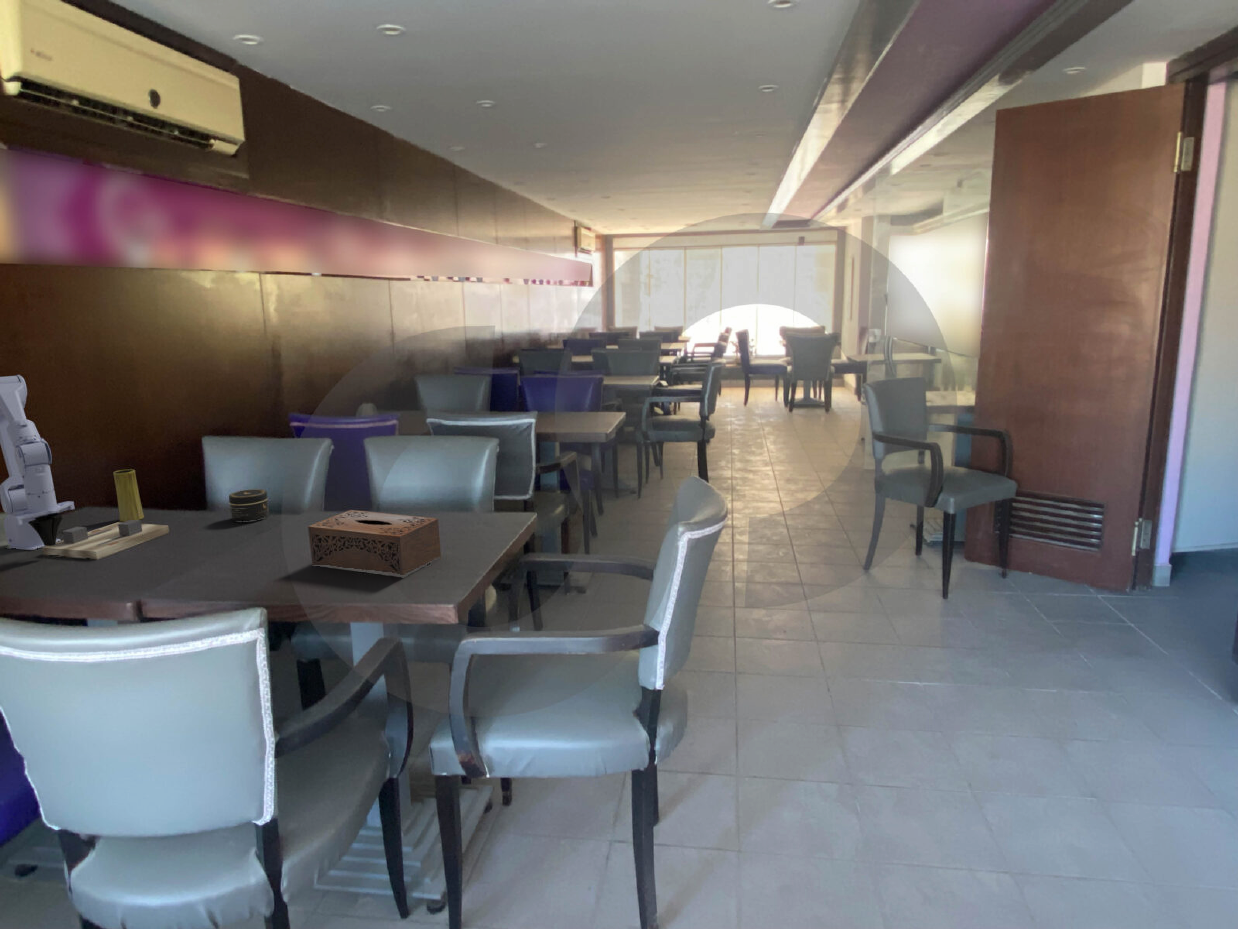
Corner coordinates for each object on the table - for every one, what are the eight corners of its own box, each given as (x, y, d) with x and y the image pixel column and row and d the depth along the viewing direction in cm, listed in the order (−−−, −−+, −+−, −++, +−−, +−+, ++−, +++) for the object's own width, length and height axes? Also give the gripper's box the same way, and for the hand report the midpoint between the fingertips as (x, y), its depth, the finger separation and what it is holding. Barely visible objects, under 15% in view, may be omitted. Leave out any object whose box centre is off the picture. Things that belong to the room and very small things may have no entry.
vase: (132, 522, 223) (124, 473, 220) (114, 521, 224) (106, 473, 221) (149, 516, 229) (141, 469, 226) (131, 515, 230) (123, 468, 227)
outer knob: (119, 535, 204) (117, 524, 203) (132, 530, 208) (130, 519, 207) (129, 535, 203) (127, 524, 202) (142, 531, 207) (140, 520, 206)
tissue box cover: (441, 558, 187) (438, 518, 184) (403, 579, 174) (399, 536, 171) (354, 548, 196) (350, 509, 194) (312, 567, 183) (307, 526, 181)
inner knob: (64, 542, 199) (62, 531, 198) (78, 537, 202) (76, 526, 202) (74, 543, 198) (72, 532, 197) (88, 538, 202) (86, 527, 201)
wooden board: (43, 555, 196) (41, 547, 195) (119, 529, 217) (117, 522, 216) (97, 559, 192) (95, 551, 191) (169, 532, 212) (168, 525, 212)
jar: (256, 524, 218) (253, 497, 217) (223, 523, 220) (220, 497, 218) (277, 514, 228) (274, 488, 226) (245, 513, 230) (242, 488, 228)
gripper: (23, 500, 182) (34, 555, 185) (79, 485, 196) (89, 536, 199) (0, 498, 184) (11, 553, 187) (57, 484, 198) (67, 535, 201)
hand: (50, 545), depth 193 cm, fingers closed
